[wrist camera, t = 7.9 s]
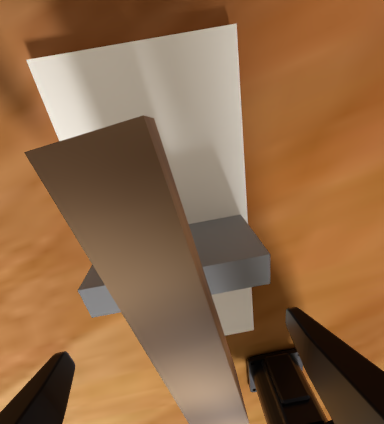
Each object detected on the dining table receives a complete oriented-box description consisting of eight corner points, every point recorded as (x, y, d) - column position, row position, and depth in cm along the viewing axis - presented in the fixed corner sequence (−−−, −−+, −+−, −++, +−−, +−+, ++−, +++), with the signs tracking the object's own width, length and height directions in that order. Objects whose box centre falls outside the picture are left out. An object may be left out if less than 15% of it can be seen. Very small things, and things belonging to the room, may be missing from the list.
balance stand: (250, 321, 21) (277, 389, 16) (146, 341, 21) (137, 417, 16) (231, 31, 12) (285, -53, 6) (38, 65, 11) (-88, 10, 6)
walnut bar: (234, 364, 14) (249, 423, 11) (192, 376, 14) (197, 436, 11) (153, 118, 8) (143, 115, 5) (77, 141, 8) (24, 152, 5)
